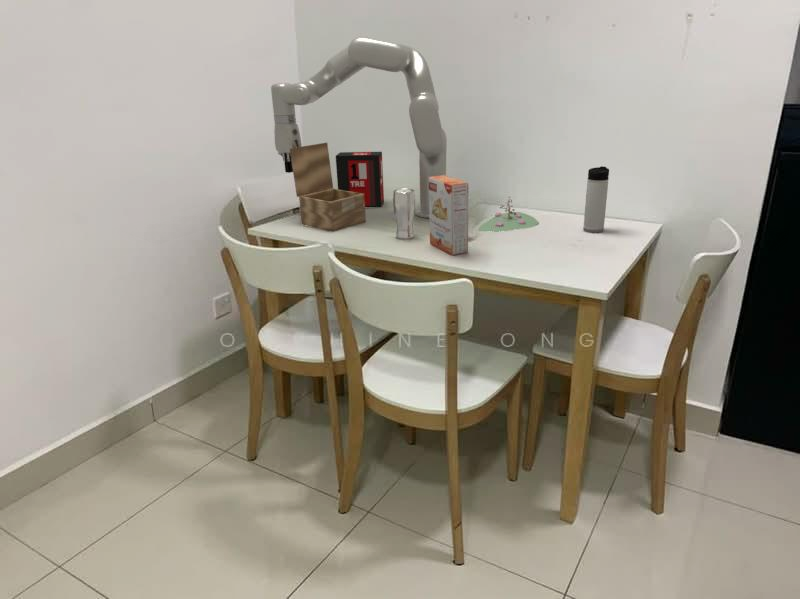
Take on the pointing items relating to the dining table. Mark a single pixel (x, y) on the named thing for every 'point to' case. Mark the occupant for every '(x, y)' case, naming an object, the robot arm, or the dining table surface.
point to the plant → (508, 221)
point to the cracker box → (448, 214)
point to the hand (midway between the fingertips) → (290, 171)
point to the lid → (311, 169)
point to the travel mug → (596, 199)
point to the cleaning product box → (361, 175)
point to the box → (332, 209)
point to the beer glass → (404, 212)
